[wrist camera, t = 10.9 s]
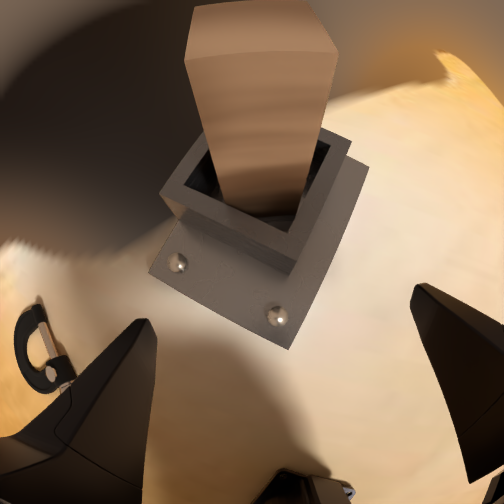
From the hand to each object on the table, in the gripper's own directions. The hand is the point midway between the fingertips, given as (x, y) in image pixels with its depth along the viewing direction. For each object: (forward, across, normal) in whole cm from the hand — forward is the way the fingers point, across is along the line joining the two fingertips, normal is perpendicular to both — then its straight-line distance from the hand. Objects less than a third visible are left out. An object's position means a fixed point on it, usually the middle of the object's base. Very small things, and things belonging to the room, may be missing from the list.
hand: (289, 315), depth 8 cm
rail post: (+11, 0, 0) cm, 11 cm away
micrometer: (+3, +18, +11) cm, 21 cm away
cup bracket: (+11, 0, +2) cm, 11 cm away
